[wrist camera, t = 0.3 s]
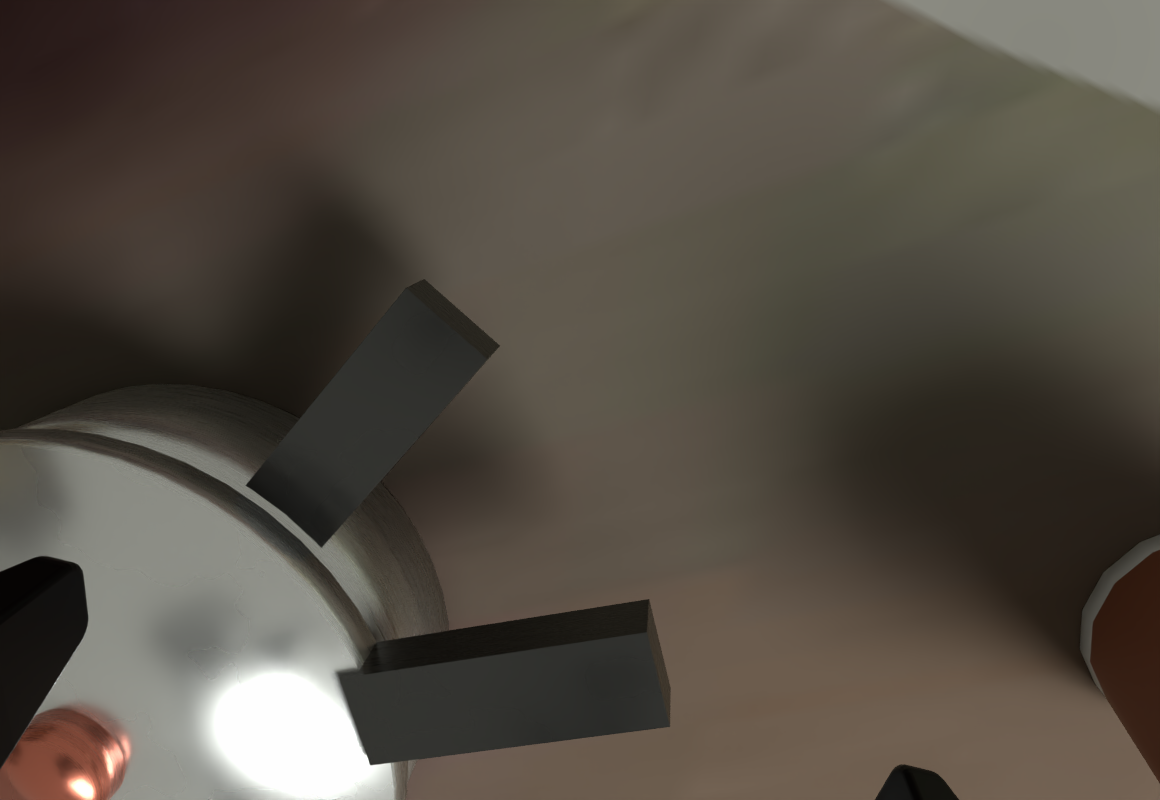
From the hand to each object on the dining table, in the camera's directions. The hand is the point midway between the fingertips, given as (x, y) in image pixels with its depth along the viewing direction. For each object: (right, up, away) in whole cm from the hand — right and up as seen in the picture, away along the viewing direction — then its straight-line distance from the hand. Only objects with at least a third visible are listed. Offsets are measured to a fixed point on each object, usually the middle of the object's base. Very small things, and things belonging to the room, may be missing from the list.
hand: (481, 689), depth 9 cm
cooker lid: (-8, -5, +13) cm, 16 cm away
